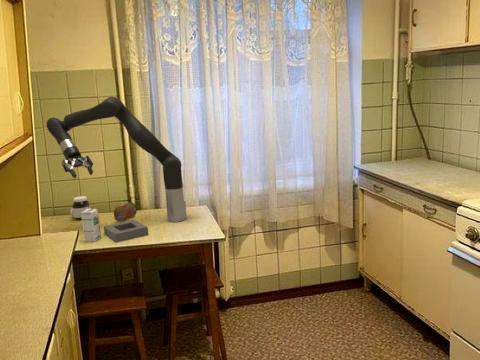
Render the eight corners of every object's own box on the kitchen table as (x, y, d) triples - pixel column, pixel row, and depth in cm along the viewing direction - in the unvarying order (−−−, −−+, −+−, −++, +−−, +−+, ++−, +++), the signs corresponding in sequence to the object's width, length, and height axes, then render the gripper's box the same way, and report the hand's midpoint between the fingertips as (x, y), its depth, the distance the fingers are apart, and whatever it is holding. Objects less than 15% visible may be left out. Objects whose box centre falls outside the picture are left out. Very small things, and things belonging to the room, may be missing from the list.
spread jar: (85, 221, 270) (82, 200, 268) (65, 221, 272) (62, 200, 270) (94, 214, 282) (92, 194, 279) (75, 214, 284) (73, 194, 281)
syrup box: (95, 241, 236) (92, 211, 233) (84, 241, 237) (80, 211, 234) (101, 237, 241) (98, 208, 238) (90, 237, 243) (86, 208, 239)
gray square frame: (135, 227, 255) (134, 219, 254) (148, 234, 242) (147, 226, 241) (104, 234, 246) (103, 226, 245) (116, 242, 233) (115, 234, 232)
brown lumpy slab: (117, 223, 263) (116, 208, 261) (113, 223, 264) (111, 207, 263) (137, 215, 275) (136, 201, 273) (133, 215, 277) (132, 200, 275)
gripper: (58, 147, 244) (72, 173, 238) (85, 143, 254) (99, 168, 248) (54, 157, 249) (68, 182, 243) (81, 153, 259) (94, 177, 253)
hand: (83, 175), depth 246 cm, fingers open, 8 cm apart
